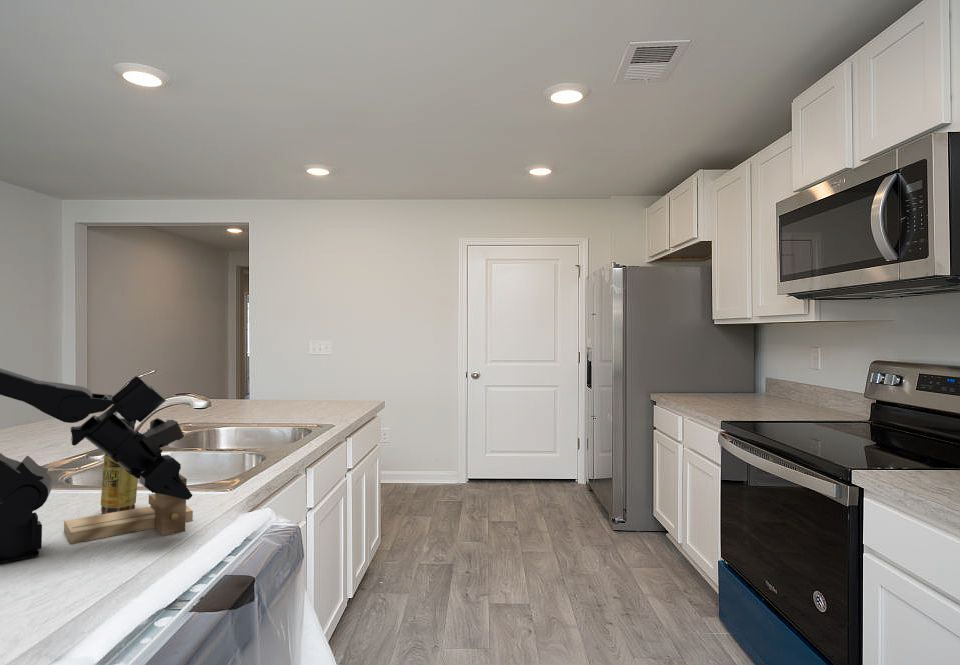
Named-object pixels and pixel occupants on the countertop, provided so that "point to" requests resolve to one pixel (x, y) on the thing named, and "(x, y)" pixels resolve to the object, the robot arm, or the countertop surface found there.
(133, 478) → the sauce bottle
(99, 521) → the board
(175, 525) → the gauge
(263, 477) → the countertop surface
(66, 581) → the countertop surface
